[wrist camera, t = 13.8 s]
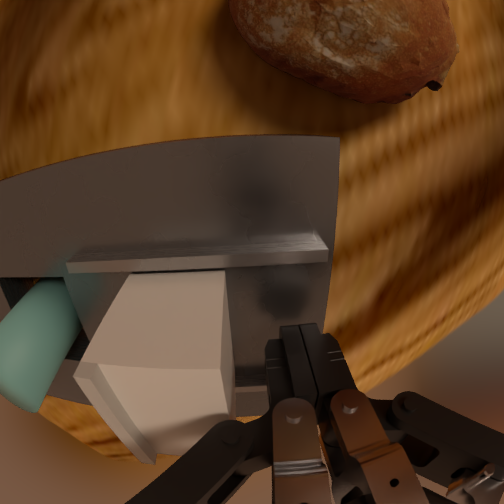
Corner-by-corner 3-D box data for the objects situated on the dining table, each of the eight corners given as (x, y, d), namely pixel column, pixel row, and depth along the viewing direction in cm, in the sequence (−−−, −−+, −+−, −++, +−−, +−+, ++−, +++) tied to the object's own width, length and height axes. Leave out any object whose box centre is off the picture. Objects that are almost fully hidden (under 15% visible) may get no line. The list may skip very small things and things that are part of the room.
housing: (-12, 185, 11) (-50, 203, 7) (316, 135, 12) (348, 138, 8) (59, 369, 18) (43, 401, 14) (299, 377, 18) (309, 420, 15)
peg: (37, 267, 14) (-36, 346, 6) (82, 265, 14) (6, 360, 6) (57, 317, 15) (4, 401, 8) (101, 320, 15) (52, 420, 8)
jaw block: (129, 274, 11) (72, 376, 6) (224, 270, 11) (219, 387, 6) (160, 371, 13) (141, 462, 8) (234, 371, 13) (237, 469, 8)
